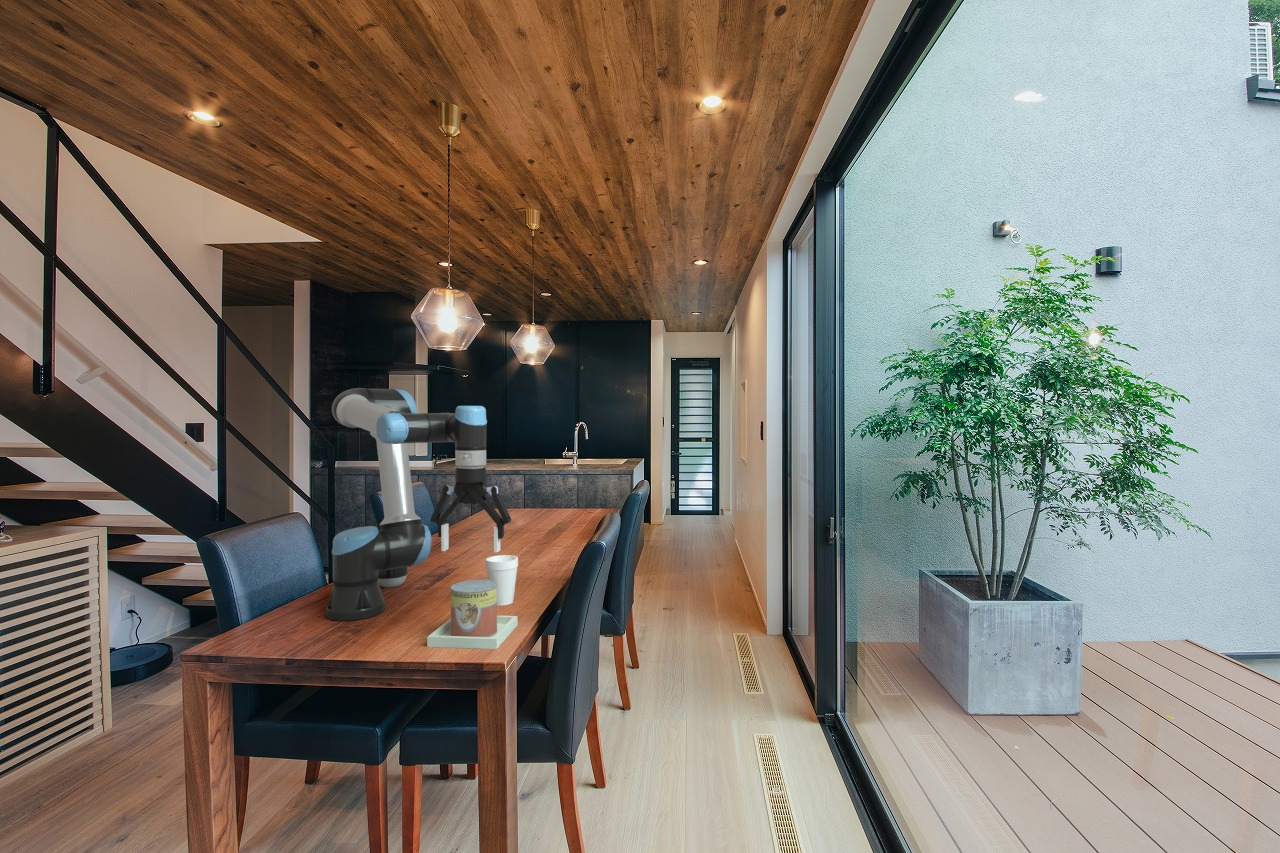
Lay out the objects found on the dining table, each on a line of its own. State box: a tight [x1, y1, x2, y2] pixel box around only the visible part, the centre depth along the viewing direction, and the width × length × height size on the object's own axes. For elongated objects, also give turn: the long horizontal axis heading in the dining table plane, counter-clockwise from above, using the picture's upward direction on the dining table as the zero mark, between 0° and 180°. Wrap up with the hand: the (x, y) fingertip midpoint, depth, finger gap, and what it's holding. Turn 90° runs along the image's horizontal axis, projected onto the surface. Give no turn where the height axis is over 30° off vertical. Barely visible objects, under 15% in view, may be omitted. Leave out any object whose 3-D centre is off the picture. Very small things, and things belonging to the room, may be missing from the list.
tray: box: [426, 615, 519, 650], centre depth 155 cm, size 17×17×2 cm
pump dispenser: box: [378, 567, 409, 589], centre depth 202 cm, size 10×10×15 cm
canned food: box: [450, 579, 498, 637], centre depth 155 cm, size 11×11×12 cm
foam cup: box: [485, 554, 519, 606], centre depth 183 cm, size 10×9×13 cm
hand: (470, 550), depth 156 cm, fingers open, 13 cm apart
